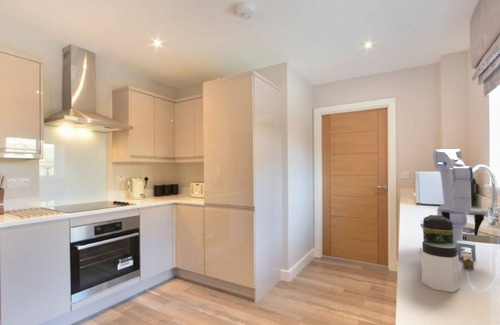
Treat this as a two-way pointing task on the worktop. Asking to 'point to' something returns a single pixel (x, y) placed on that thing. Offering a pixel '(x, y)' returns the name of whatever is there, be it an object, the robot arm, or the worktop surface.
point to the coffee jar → (437, 229)
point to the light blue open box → (467, 245)
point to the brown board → (468, 260)
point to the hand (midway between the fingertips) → (462, 233)
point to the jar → (440, 266)
